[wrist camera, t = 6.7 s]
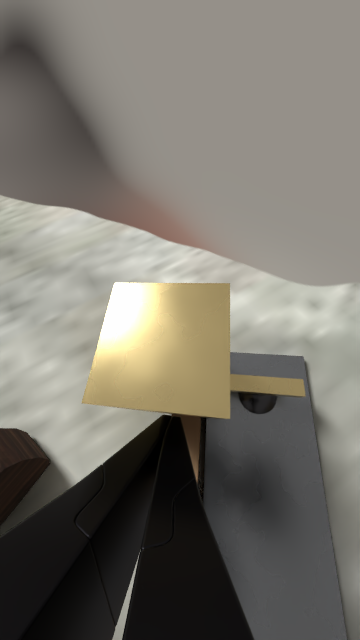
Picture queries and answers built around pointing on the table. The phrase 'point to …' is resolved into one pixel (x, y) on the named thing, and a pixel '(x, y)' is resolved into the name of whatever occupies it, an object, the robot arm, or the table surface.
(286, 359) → the bolt strip
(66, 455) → the table surface
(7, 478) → the hammer
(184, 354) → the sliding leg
